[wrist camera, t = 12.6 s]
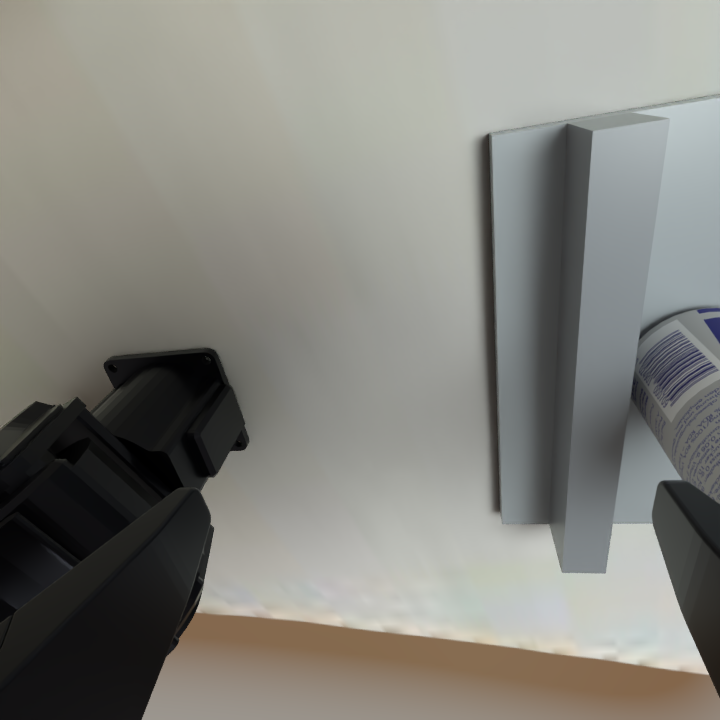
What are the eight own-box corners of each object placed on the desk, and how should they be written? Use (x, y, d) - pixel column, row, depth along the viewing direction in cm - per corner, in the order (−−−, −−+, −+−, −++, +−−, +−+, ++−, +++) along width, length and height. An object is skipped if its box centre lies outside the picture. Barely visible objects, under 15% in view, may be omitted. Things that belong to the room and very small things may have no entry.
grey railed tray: (500, 510, 27) (509, 571, 24) (489, 133, 17) (502, 145, 14) (824, 507, 24) (889, 578, 20) (1037, 40, 14) (1231, 26, 11)
